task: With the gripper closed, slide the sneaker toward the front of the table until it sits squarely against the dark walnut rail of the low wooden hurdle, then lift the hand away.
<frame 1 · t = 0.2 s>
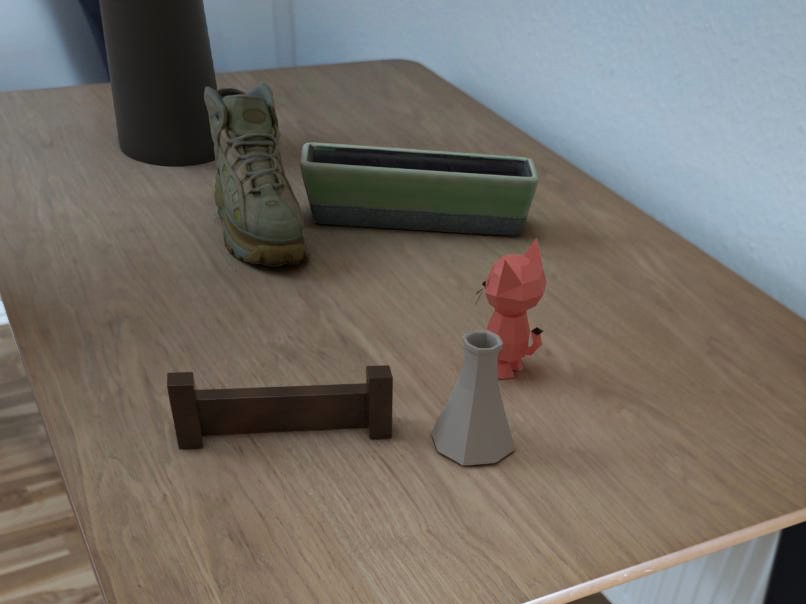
planter: (418, 224, 109), on the table
flask: (472, 445, 79), on the table
cat figurine: (506, 370, 88), on the table
wooden hurdle: (285, 426, 78), on the table
sneaker: (262, 239, 103), on the table
vase: (174, 147, 119), on the table
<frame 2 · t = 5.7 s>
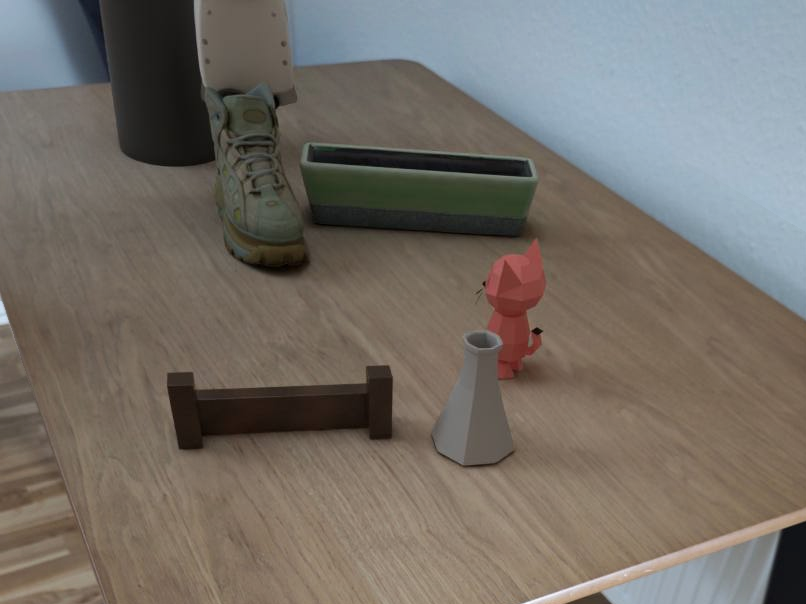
hand: (255, 156, 106), 5 cm above the table, tool pointing down, fingers closed
sneaker: (262, 239, 103), on the table, touching gripper
everything else where it was.
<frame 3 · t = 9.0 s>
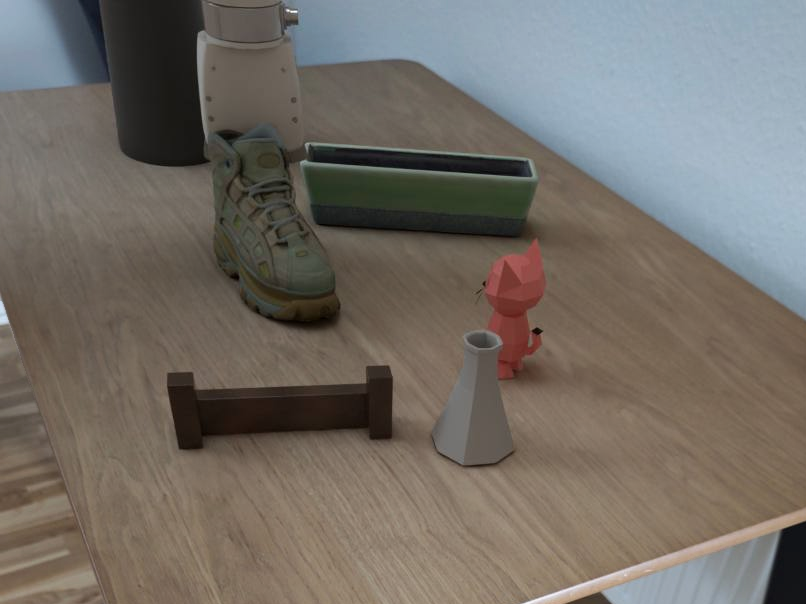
hand: (262, 215, 99), 3 cm above the table, tool pointing down, fingers closed
sneaker: (277, 289, 95), on the table, touching gripper
everything else where it was.
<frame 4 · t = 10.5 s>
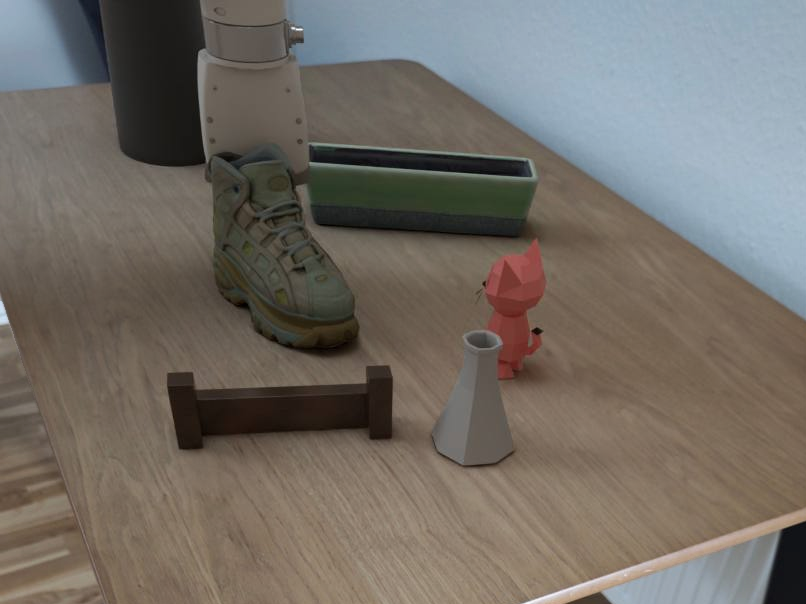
hand: (265, 239, 95), 3 cm above the table, tool pointing down, fingers closed
sneaker: (286, 315, 92), on the table, touching gripper
everything else where it was.
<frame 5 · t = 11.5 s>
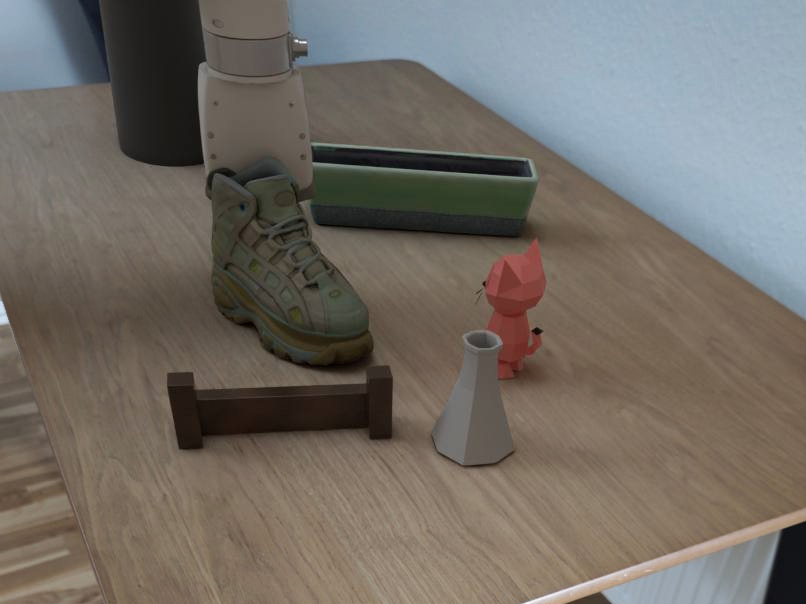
hand: (267, 256, 92), 3 cm above the table, tool pointing down, fingers closed
sneaker: (292, 332, 89), on the table, touching gripper
everything else where it was.
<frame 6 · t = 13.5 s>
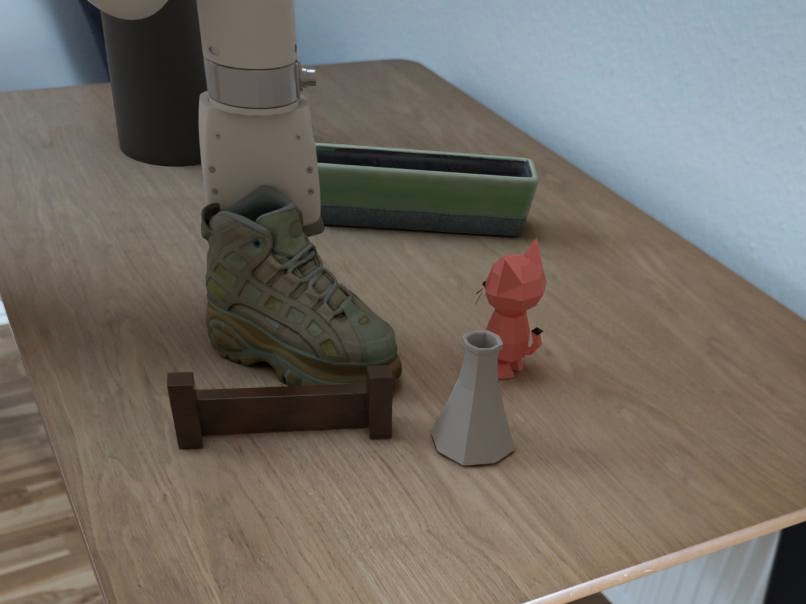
hand: (271, 293, 87), 3 cm above the table, tool pointing down, fingers closed
sneaker: (305, 365, 85), on the table, touching gripper
everything else where it was.
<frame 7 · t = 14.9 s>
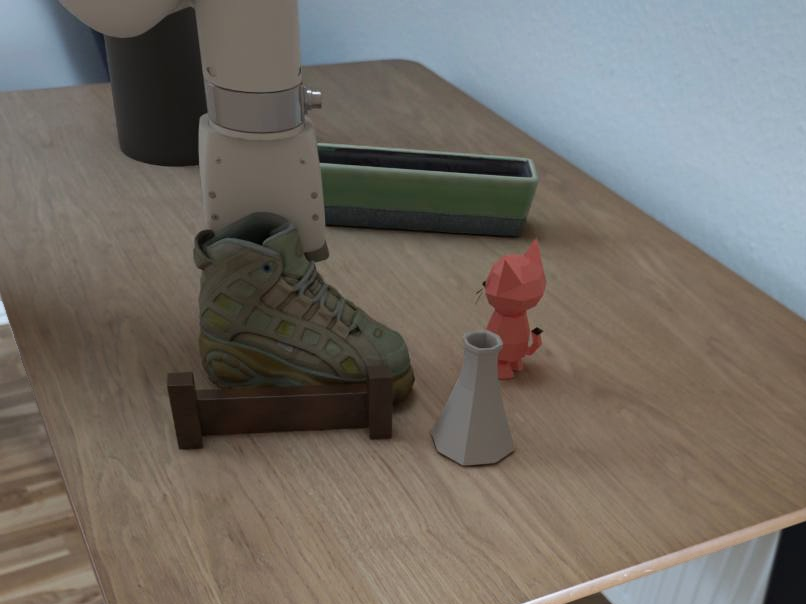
hand: (274, 320, 84), 3 cm above the table, tool pointing down, fingers closed
sneaker: (309, 386, 83), on the table, touching gripper, wooden hurdle
everything else where it was.
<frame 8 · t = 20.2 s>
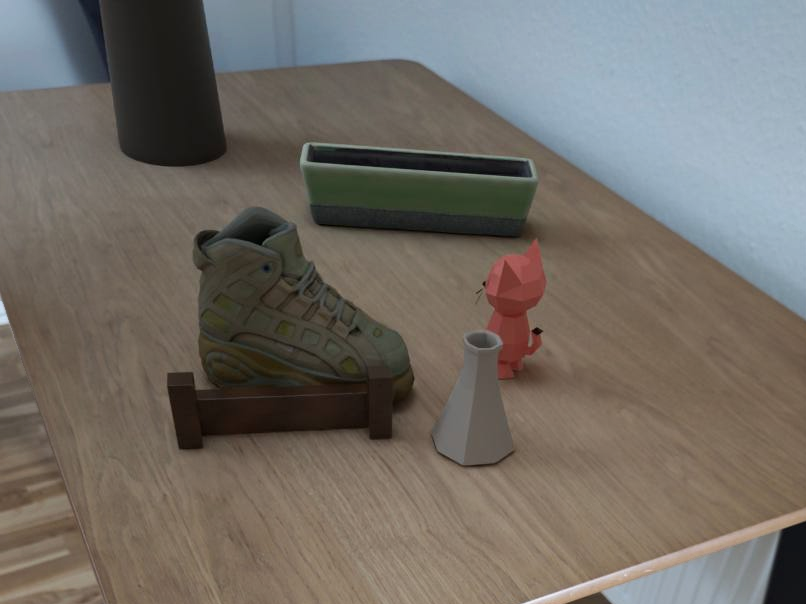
sneaker: (309, 386, 83), on the table
everything else where it was.
at the end: sneaker inside the target area on the table beside the wooden hurdle (2.7 cm from its centre), on the table; sneaker tilted 0°; sneaker moved 31.6 cm from its start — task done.
